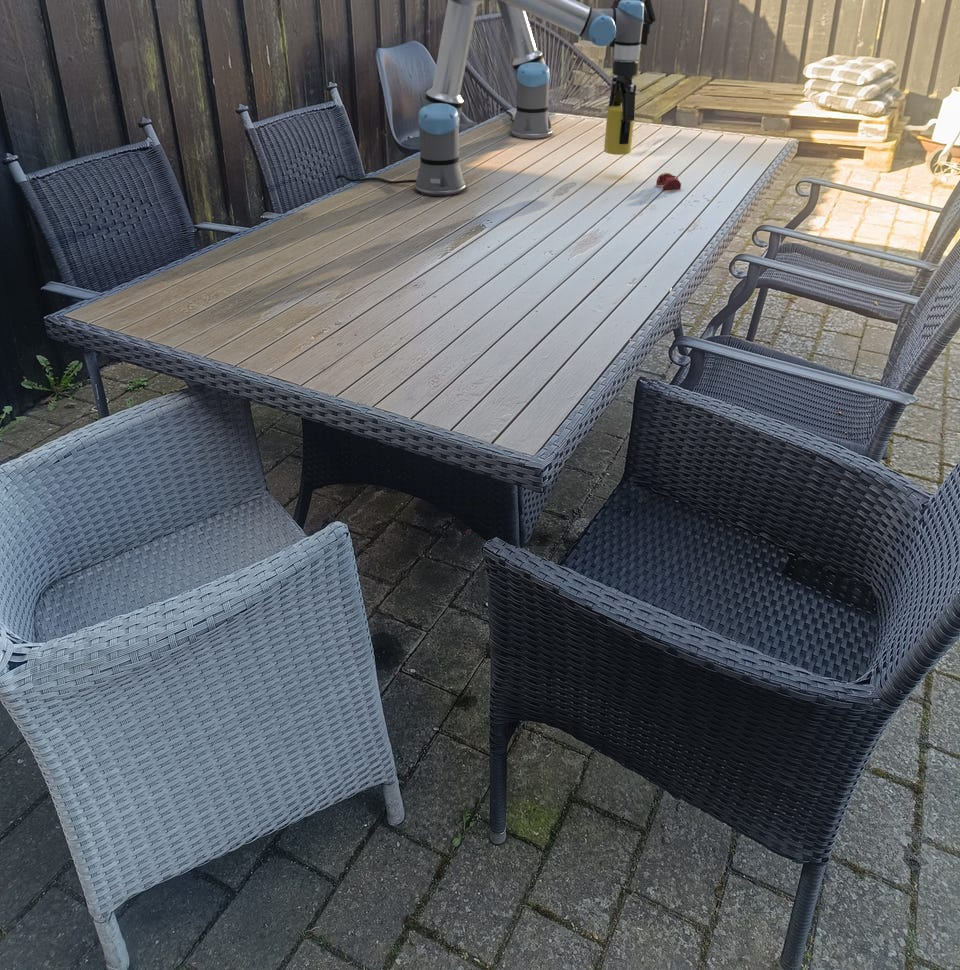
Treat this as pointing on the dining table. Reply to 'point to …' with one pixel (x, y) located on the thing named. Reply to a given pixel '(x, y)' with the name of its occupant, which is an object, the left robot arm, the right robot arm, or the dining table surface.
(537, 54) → the right robot arm
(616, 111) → the cylinder
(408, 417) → the dining table surface
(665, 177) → the dental model
